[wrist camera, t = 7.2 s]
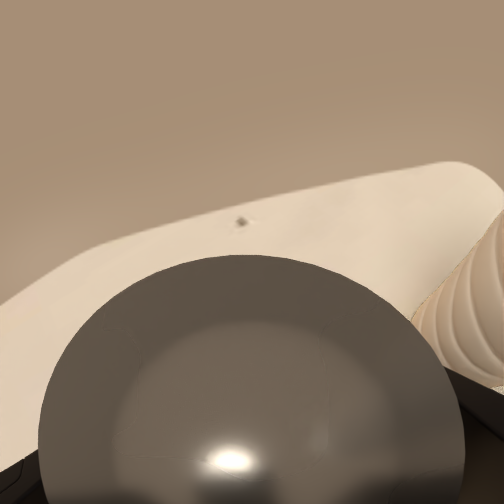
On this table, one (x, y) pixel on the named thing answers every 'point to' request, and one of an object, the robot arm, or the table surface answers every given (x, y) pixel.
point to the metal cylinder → (250, 395)
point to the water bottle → (470, 312)
